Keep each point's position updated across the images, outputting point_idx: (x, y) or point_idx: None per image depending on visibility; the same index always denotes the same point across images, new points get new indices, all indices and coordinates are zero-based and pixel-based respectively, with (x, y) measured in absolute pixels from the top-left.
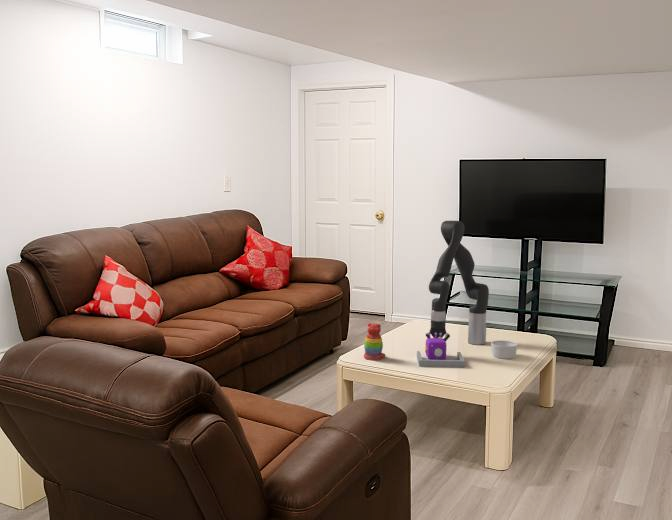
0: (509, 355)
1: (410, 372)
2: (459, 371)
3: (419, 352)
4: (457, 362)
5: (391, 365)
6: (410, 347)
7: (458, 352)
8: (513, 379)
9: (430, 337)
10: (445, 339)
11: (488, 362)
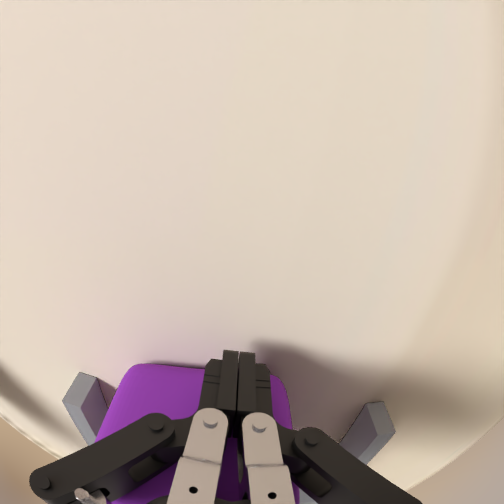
0: None
1: None
2: None
3: (85, 424)
4: None
5: (32, 426)
6: (28, 87)
7: (378, 439)
8: None
9: (114, 476)
10: (329, 501)
11: (450, 424)
